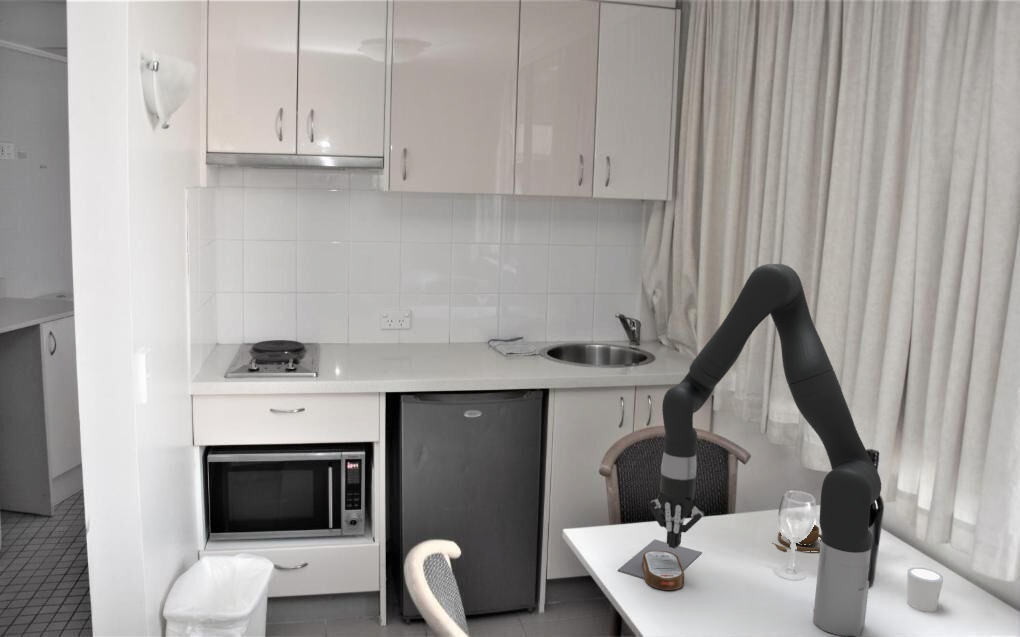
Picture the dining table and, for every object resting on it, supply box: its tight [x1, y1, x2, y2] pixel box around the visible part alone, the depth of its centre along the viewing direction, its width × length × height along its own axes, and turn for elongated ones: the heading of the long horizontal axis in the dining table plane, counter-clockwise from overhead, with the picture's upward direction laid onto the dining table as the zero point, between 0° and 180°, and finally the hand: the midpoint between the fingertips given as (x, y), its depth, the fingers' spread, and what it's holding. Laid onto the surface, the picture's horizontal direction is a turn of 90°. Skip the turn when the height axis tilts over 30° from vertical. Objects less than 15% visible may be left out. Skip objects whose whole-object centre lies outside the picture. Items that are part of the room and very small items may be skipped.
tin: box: [642, 550, 685, 591], centre depth 185 cm, size 15×3×8 cm
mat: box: [617, 539, 703, 580], centre depth 192 cm, size 12×21×1 cm, turn 147°
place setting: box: [772, 524, 821, 553], centre depth 202 cm, size 18×20×6 cm
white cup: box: [906, 566, 944, 613], centre depth 176 cm, size 7×7×7 cm
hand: (673, 546), depth 186 cm, fingers closed
